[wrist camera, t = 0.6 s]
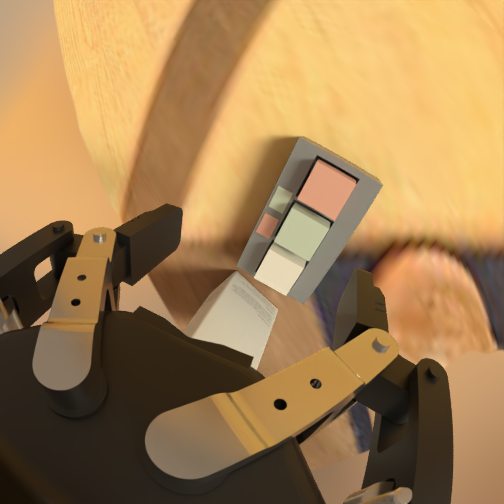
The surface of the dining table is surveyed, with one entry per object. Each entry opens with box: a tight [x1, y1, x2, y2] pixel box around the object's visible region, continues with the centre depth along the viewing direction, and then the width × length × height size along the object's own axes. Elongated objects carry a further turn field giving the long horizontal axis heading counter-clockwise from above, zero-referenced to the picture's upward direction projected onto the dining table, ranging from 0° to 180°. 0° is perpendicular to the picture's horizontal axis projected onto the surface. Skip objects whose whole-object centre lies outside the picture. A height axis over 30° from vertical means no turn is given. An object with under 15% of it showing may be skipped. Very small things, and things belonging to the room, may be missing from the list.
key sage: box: [274, 202, 330, 261], centre depth 27 cm, size 4×4×2 cm
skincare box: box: [183, 271, 278, 370], centre depth 32 cm, size 8×7×16 cm
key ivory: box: [254, 242, 306, 296], centre depth 30 cm, size 4×4×2 cm
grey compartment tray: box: [237, 137, 383, 304], centre depth 29 cm, size 16×9×3 cm, turn 157°
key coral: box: [297, 160, 356, 221], centre depth 25 cm, size 4×4×2 cm
